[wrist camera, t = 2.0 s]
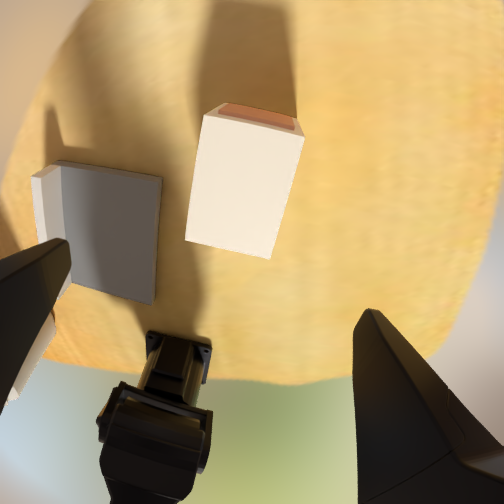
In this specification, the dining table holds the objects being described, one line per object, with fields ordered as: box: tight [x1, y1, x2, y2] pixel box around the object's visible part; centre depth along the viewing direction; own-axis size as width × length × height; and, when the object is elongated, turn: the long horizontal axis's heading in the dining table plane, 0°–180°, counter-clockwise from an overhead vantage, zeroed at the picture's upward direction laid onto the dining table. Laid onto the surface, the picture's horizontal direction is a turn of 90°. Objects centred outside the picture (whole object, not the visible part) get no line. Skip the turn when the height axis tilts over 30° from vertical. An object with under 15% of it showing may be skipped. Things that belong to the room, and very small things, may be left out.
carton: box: [185, 103, 305, 259], centre depth 17 cm, size 7×4×6 cm
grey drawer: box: [31, 160, 163, 305], centre depth 22 cm, size 11×9×4 cm
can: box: [4, 312, 56, 406], centre depth 25 cm, size 8×8×12 cm
